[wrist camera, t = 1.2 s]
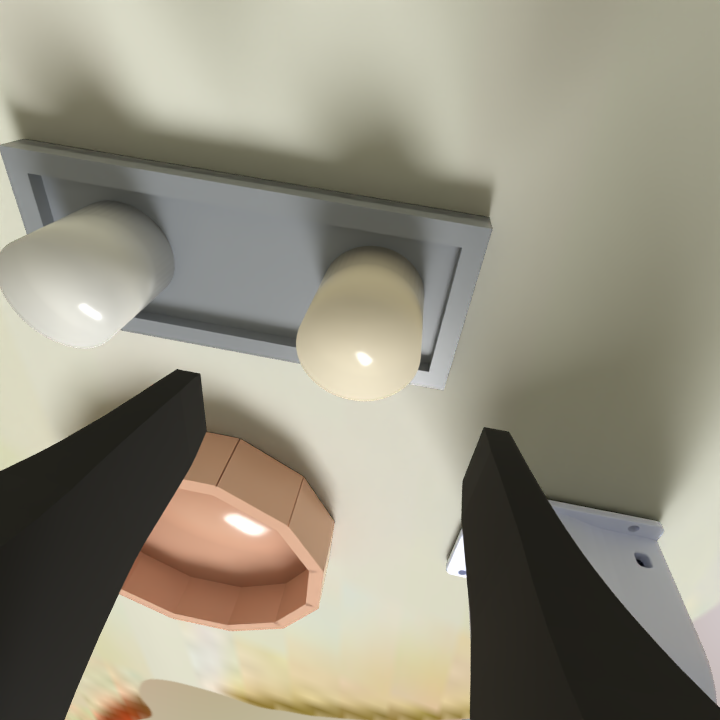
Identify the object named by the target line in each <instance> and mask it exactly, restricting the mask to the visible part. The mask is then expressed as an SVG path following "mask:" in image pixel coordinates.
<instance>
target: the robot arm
mask: <svg viewBox="0 0 720 720" xmlns="http://www.w3.org/2000/svg"><path fill="white" fill-rule="evenodd" d="M206 432H207V430H206V421H205V412H204V403H203V394H202V385H201V376H200V374H199V373H194V372H189V371H183V370H178V369H177V370H175V371H174V372H172V373H170V374H169V375H167V376H166V377H164V378H162V379H161V380H159V381H158V382H156V383H155V384H153V385H152V386H150V387H149V388H147V389H146V390H144V391H143V392H141V393H139V394H138V395H136V396H135V397H133V398H132V399H130V400H129V401H127V402H125V403H124V404H122V405H121V406H119V407H118V408H116V409H114V410H113V411H111V412H110V413H108V414H106V415H105V416H103V417H102V418H100V419H98V420H96V421H95V422H93V423H91V424H89V425H88V426H86V427H84V428H82V429H81V430H79V431H77V432H76V433H74V434H72V435H70V436H69V437H67V438H65V439H63V440H62V441H60V442H58V443H56V444H54V445H52V446H51V447H49V448H47V449H45V450H43V451H41V452H39V453H37V454H35V455H33V456H31V457H29V458H27V459H25V460H23V461H21V462H19V463H16V464H14V465H12V466H10V467H8V468H6V469H4V470H2V471H0V720H65V717H66V715H67V712H68V710H69V707H70V705H71V702H72V699H73V697H74V694H75V692H76V689H77V687H78V685H79V682H80V680H81V678H82V675H83V673H84V671H85V668H86V666H87V664H88V661H89V659H90V657H91V654H92V652H93V650H94V647H95V645H96V643H97V640H98V638H99V636H100V634H101V632H102V629H103V627H104V625H105V623H106V621H107V618H108V616H109V614H110V612H111V610H112V608H113V605H114V603H115V601H116V599H117V597H118V595H119V593H120V590H121V588H122V586H123V584H124V582H125V580H126V578H127V576H128V574H129V572H130V570H131V568H132V566H133V564H134V562H135V560H136V558H137V556H138V554H139V552H140V551H141V549H142V547H143V545H144V543H145V542H146V540H147V538H148V537H149V535H150V534H151V532H152V530H153V529H154V527H155V525H156V524H157V522H158V520H159V519H160V517H161V516H162V514H163V512H164V511H165V509H166V507H167V506H168V504H169V502H170V501H171V499H172V498H173V496H174V494H175V493H176V491H177V489H178V488H179V486H180V484H181V483H182V481H183V479H184V478H185V476H186V474H187V473H188V471H189V469H190V467H191V466H192V463H193V461H194V459H195V457H196V455H197V453H198V450H199V448H200V446H201V443H202V441H203V439H204V436H205V434H206ZM461 520H462V529H461V531H460V534H459V536H458V538H457V540H456V543H455V545H454V547H453V550H452V552H451V554H450V557H449V559H448V561H447V563H446V571H447V572H448V573H449V574H452V575H456V576H461V577H466V578H467V587H468V598H469V618H470V639H471V685H470V719H463V720H720V707H718V705H717V701H716V691H715V685H714V680H713V675H712V672H711V668H710V665H709V662H708V659H707V656H706V654H705V651H704V649H703V646H702V644H701V642H700V640H699V637H698V635H697V632H696V630H695V628H694V625H693V623H692V621H691V619H690V616H689V614H688V612H687V609H686V607H685V605H684V602H683V600H682V598H681V595H680V593H679V591H678V588H677V586H676V584H675V581H674V579H673V577H672V574H671V572H670V570H669V567H668V565H667V563H666V560H665V558H664V556H663V553H662V551H661V549H660V547H659V544H658V542H657V540H658V539H659V538H660V537H661V535H662V534H663V533H664V529H663V526H662V524H661V523H660V522H658V521H655V520H649V519H644V518H639V517H634V516H629V515H624V514H619V513H614V512H608V511H603V510H598V509H593V508H588V507H583V506H578V505H573V504H568V503H562V502H557V501H552V500H548V499H547V498H546V496H545V495H544V493H543V491H542V490H541V488H540V486H539V484H538V483H537V481H536V479H535V478H534V476H533V474H532V472H531V471H530V469H529V467H528V465H527V463H526V462H525V460H524V458H523V456H522V454H521V453H520V451H519V449H518V447H517V445H516V443H515V441H514V440H513V438H512V436H511V435H510V433H509V432H507V431H502V430H496V429H491V428H486V427H484V428H483V431H482V433H481V436H480V438H479V441H478V443H477V446H476V448H475V451H474V453H473V456H472V459H471V461H470V464H469V466H468V469H467V471H466V474H465V476H464V479H463V485H462V519H461Z"/></svg>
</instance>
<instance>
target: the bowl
mask: <svg viewBox="0 0 720 720" xmlns="http://www.w3.org/2000/svg"><path fill="white" fill-rule="evenodd" d="M334 523H335V522H334V520H333V519H332V517H331V516H330V514H329V513H328V512H327V510H326V509H325V507H324V506H323V504H322V503H321V501H320V500H319V498H318V497H317V495H316V494H315V492H314V491H313V489H312V488H311V487H310V485H309V484H308V482H307V481H306V479H305V478H304V477H303V476H302V475H300V474H298V473H297V472H295V471H293V470H292V469H290V468H288V467H287V466H285V465H283V464H282V463H280V462H278V461H277V460H275V459H273V458H272V457H270V456H268V455H267V454H265V453H263V452H262V451H260V450H258V449H257V448H255V447H253V446H252V445H250V444H248V443H247V442H245V441H243V440H242V439H240V440H239V438H235V437H230V436H225V435H220V434H214V433H209V432H206V434H205V436H204V439H203V441H202V443H201V446H200V448H199V450H198V453H197V455H196V457H195V459H194V461H193V463H192V466H191V467H190V469H189V471H188V473H187V474H186V476H185V478H184V479H183V481H182V483H181V484H180V486H179V488H178V489H177V491H176V493H175V494H174V496H173V498H172V499H171V501H170V502H169V504H168V506H167V507H166V509H165V511H164V512H163V514H162V516H161V517H160V519H159V520H158V522H157V524H156V525H155V527H154V529H153V530H152V532H151V534H150V535H149V537H148V538H147V540H146V542H145V543H144V545H143V547H142V549H141V551H140V552H139V554H138V556H137V558H136V560H135V562H134V564H133V566H132V568H131V570H130V572H129V574H128V576H127V578H126V580H125V582H124V584H123V586H122V588H121V590H120V593H119V594H120V595H122V596H125V597H127V598H129V599H131V600H133V601H135V602H138V603H140V604H142V605H144V606H146V607H149V608H151V609H153V610H155V611H157V612H159V613H162V614H164V615H166V616H168V617H170V618H173V619H177V620H182V621H187V622H191V623H196V624H201V625H205V626H210V627H214V628H219V629H224V630H228V631H243V630H262V629H281V628H285V627H287V626H289V625H290V624H292V623H294V622H296V621H297V620H299V619H301V618H303V617H304V616H306V615H308V614H310V613H312V612H313V611H315V610H317V609H318V608H319V604H320V599H321V595H322V590H323V585H324V581H325V576H326V571H327V567H328V562H329V556H330V550H331V543H332V536H333V530H334Z"/></svg>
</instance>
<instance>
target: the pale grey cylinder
mask: <svg viewBox="0 0 720 720" xmlns="http://www.w3.org/2000/svg"><path fill="white" fill-rule="evenodd" d="M174 268H175V263H174V256H173V252H172V249H171V246H170V244H169V242H168V240H167V238H166V236H165V235H164V233H163V232H162V231H161V229H160V228H159V227H158V226H157V224H156V223H155V222H154V221H153V220H152V219H150V218H149V217H148V216H147V215H146V214H144V213H143V212H141V211H140V210H138V209H137V208H135V207H133V206H131V205H128V204H125V203H123V202H118V201H112V200H104V201H98V202H95V203H93V204H91V205H88V206H86V207H84V208H82V209H80V210H78V211H76V212H74V213H72V214H70V215H67V216H65V217H63V218H61V219H59V220H57V221H55V222H53V223H51V224H48V225H46V226H44V227H42V228H40V229H38V230H36V231H34V232H32V233H30V234H27V235H25V236H23V237H21V238H19V239H17V240H15V241H13V242H11V243H9V244H8V245H6V246H5V247H4V248H3V249H2V251H1V252H0V288H1V290H2V292H3V294H4V296H5V298H6V300H7V301H8V303H9V304H10V306H11V307H12V308H13V310H14V311H15V312H16V313H17V314H18V315H19V316H20V317H21V318H22V319H23V320H24V321H25V322H26V323H27V324H28V325H29V326H30V327H32V328H33V329H34V330H36V331H37V332H39V333H40V334H42V335H43V336H45V337H47V338H49V339H51V340H53V341H55V342H57V343H60V344H63V345H66V346H69V347H74V348H94V347H98V346H100V345H102V344H104V343H106V342H107V341H108V340H110V339H111V338H112V337H113V336H114V335H115V334H116V333H117V332H118V331H119V330H121V329H122V328H123V327H124V326H125V325H126V324H127V323H128V322H129V321H130V320H132V319H133V318H134V317H135V316H136V315H137V314H138V313H139V312H140V311H141V310H143V309H144V308H145V307H146V306H147V305H148V304H149V303H150V302H151V301H152V300H154V299H155V298H156V297H157V296H158V295H159V294H160V293H161V292H162V291H163V290H165V289H166V287H167V286H168V285H169V284H170V282H171V280H172V278H173V275H174Z"/></svg>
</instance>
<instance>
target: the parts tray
mask: <svg viewBox="0 0 720 720" xmlns="http://www.w3.org/2000/svg"><path fill="white" fill-rule="evenodd" d="M0 152H1V155H2V159H3V162H4V165H5V168H6V171H7V174H8V177H9V180H10V183H11V186H12V189H13V193H14V196H15V199H16V202H17V205H18V208H19V211H20V214H21V217H22V220H23V223H24V227H25V230H26V233H27V234H30V233H32V232H34V231H36V230H38V229H40V228H42V227H44V226H46V225H48V224H51V223H53V222H55V221H57V220H59V219H61V218H63V217H65V216H67V215H70V214H72V213H74V212H76V211H78V210H80V209H82V208H84V207H86V206H88V205H91V204H93V203H95V202H98V201H104V200H112V201H118V202H123V203H125V204H128V205H131V206H133V207H135V208H137V209H138V210H140V211H141V212H143V213H144V214H146V215H147V216H148V217H149V218H150V219H152V220H153V221H154V222H155V223H156V224H157V226H158V227H159V228H160V229H161V231H162V232H163V233H164V235H165V236H166V238H167V240H168V242H169V244H170V246H171V249H172V252H173V256H174V263H175V268H174V275H173V278H172V280H171V282H170V284H169V285H168V286H167V287H166V289H165V290H163V291H162V292H161V293H160V294H159V295H158V296H157V297H156V298H155V299H154V300H152V301H151V302H150V303H149V304H148V305H147V306H146V307H145V308H144V309H143V310H141V311H140V312H139V313H138V314H137V315H136V316H135V317H134V318H133V319H132V320H130V321H129V322H128V323H127V324H126V325H125V326H124V327H123V328H122V329H121V330H122V331H127V332H133V333H138V334H144V335H149V336H154V337H160V338H165V339H170V340H176V341H181V342H186V343H192V344H197V345H203V346H208V347H213V348H219V349H224V350H229V351H235V352H240V353H245V354H251V355H256V356H262V357H267V358H272V359H278V360H283V361H288V362H294V363H299V364H301V363H300V361H299V358H298V355H297V350H296V338H297V333H298V329H299V327H300V325H301V323H302V321H303V319H304V317H305V314H306V312H307V310H308V308H309V306H310V304H311V302H312V300H313V298H314V296H315V294H316V292H317V290H318V288H319V286H320V284H321V282H322V280H323V277H324V275H325V273H326V271H327V269H328V268H329V266H330V265H331V263H332V262H333V261H334V260H335V259H336V258H337V257H339V256H340V255H341V254H343V253H345V252H346V251H349V250H351V249H354V248H357V247H362V246H379V247H384V248H388V249H390V250H393V251H395V252H397V253H399V254H401V255H402V256H404V257H405V258H406V259H407V260H408V261H410V262H411V263H412V265H413V266H414V267H415V268H416V270H417V271H418V273H419V275H420V277H421V279H422V282H423V286H424V313H423V329H422V346H421V359H420V365H419V368H418V371H417V373H416V375H415V376H414V378H413V379H412V381H411V382H410V383H409V384H412V385H417V386H422V387H428V388H433V389H439V390H444V388H445V385H446V381H447V378H448V375H449V371H450V368H451V365H452V362H453V358H454V355H455V352H456V348H457V345H458V342H459V338H460V335H461V332H462V328H463V325H464V322H465V318H466V315H467V312H468V308H469V305H470V302H471V299H472V295H473V292H474V289H475V285H476V282H477V279H478V275H479V272H480V269H481V265H482V262H483V259H484V255H485V252H486V249H487V245H488V242H489V239H490V236H491V232H492V225H491V222H490V218H489V217H485V216H479V215H473V214H467V213H461V212H455V211H449V210H443V209H437V208H431V207H425V206H419V205H413V204H407V203H401V202H396V201H390V200H384V199H378V198H372V197H366V196H360V195H354V194H348V193H342V192H336V191H330V190H324V189H318V188H312V187H306V186H300V185H294V184H288V183H283V182H277V181H271V180H265V179H259V178H253V177H247V176H241V175H235V174H229V173H223V172H217V171H211V170H205V169H199V168H193V167H187V166H181V165H175V164H169V163H164V162H158V161H152V160H146V159H140V158H134V157H128V156H122V155H116V154H110V153H104V152H98V151H92V150H86V149H80V148H74V147H68V146H62V145H56V144H51V143H45V142H39V141H33V140H27V139H22V140H18V141H14V142H10V143H5V144H1V145H0Z"/></svg>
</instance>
